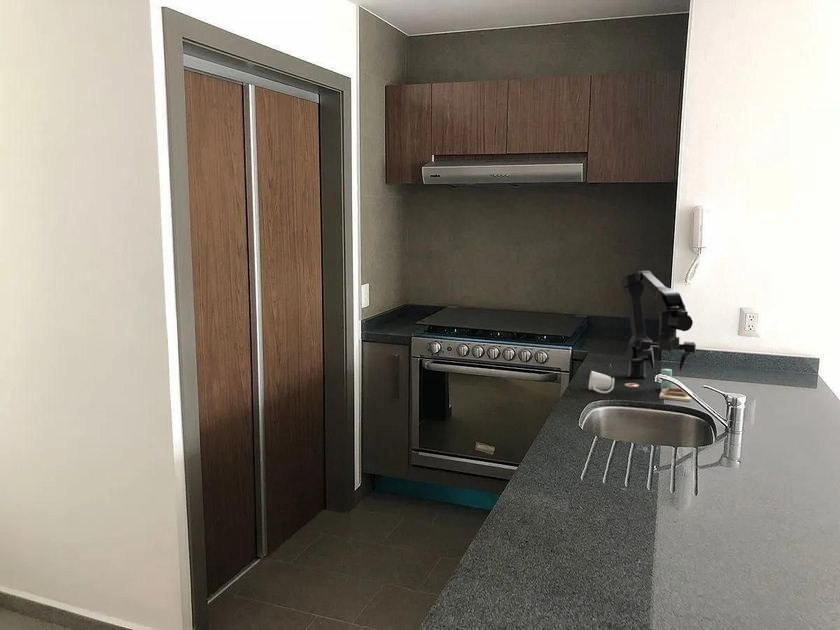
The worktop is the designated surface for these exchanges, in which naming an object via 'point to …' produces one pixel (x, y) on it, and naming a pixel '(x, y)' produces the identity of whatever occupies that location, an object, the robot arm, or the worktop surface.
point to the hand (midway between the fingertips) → (666, 369)
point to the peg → (664, 383)
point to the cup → (600, 382)
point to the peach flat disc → (631, 385)
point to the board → (674, 394)
